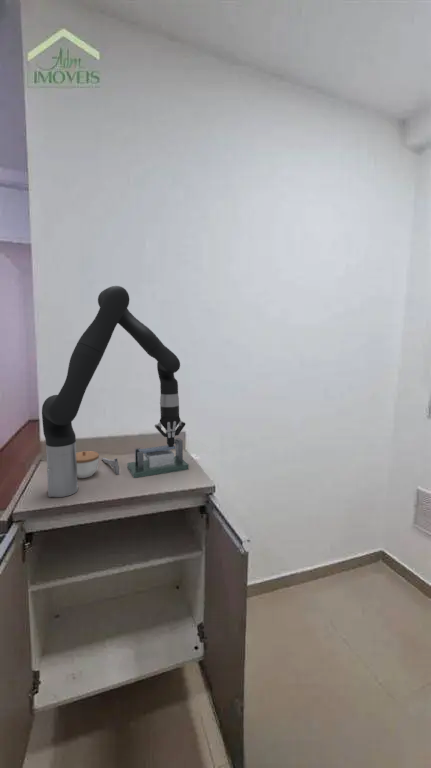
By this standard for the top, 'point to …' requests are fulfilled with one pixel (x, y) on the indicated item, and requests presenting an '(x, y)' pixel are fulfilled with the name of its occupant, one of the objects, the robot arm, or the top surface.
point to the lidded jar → (86, 463)
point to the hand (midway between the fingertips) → (170, 445)
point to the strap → (156, 449)
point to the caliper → (112, 464)
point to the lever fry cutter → (158, 462)
